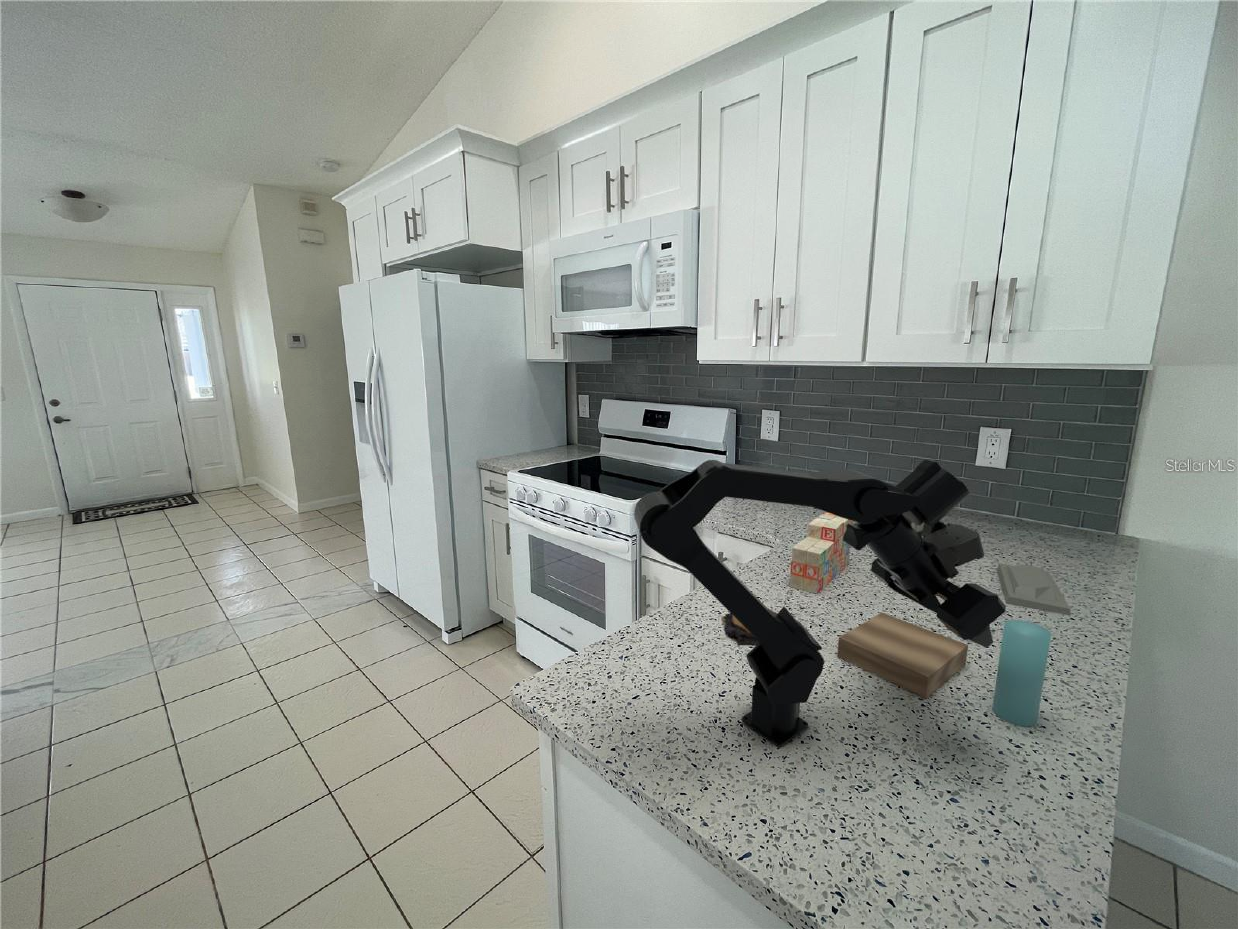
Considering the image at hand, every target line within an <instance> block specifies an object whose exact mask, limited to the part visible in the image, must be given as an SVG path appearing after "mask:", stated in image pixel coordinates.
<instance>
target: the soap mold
mask: <svg viewBox="0 0 1238 929" xmlns="http://www.w3.org/2000/svg"><path fill="white" fill-rule="evenodd" d="M996 573H997V576H998V580H999V583H1000V587H1001V591H1002V594H1003V597H1004V601H1005V605H1007V604H1008V605H1011V606H1017V607H1023V608H1029V609H1033V610H1039V611H1046V612H1050V613H1056V614H1061V615H1067V616H1071V615H1072V614H1071V608H1070V606H1069V604H1068V602H1067V600H1066V599H1065V597H1064V596H1063V593H1062V592H1061V590H1060V589H1059V586H1058V585H1057V583H1056V582H1055V579H1054V577H1053V576H1052V574H1051V572H1050V571H1049V570H1044V568H1042V567H1038V566H1033V565H1030V564H1018V565H1011V564H1003V563H999V564H998V565H997V567H996Z"/></svg>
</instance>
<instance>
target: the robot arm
mask: <svg viewBox="0 0 1238 929" xmlns="http://www.w3.org/2000/svg"><path fill="white" fill-rule="evenodd" d="M968 497H970V490H969V488H967V486H966V485H965V483H964V482H962V481H961V480H958V478H957V477H955V476H954V475H953V474H951V473H950V472H949V471H948V470H946V469H945V468H942V467H941V465H940V464H939V463H938V462H937V461H934V460H931V459H927V458H925V459H923V460H922V462H920V463H919V464H918V465H917V466H916V468H915V469H914V470H913V471H912V472H911V473H910V474H908V475H907V476H906V477H905V478H903V479H902V480H901V481H900V482H898V483H897V484H896V485H893V484H890V483H887V482H884V481H883V480H881V479H878V478H876V477H873V476H871V475H868V474H866V473H863V472H861V471H858V470H855V469H853V468H840V469H839V468H835V469H823V470H820V471H817V472H816V471H815V472H800V471H790V470H784V469H783V470H782V469H777V468H776V469H774V468H767V467H759V466H753V465H752V466H751V465H742V464H736V463H734V464H733V463H728V462H727V463H726V462H722V461H719V460H717V459H708V460H706V461H703V462H702V463H701V464H700V465H698V466H697V467H696V468H694V469H693V470H691V471H689V472H688V473H686V474H684V475H682V476H680V477H678V478H677V479H674V480H673V481H671V482H669V483H667V484H666V485H665V486H664V487H662V488H661V489H660V490H658V491H651V492H649V493H646V494H644V495H643V496H642V497H640V498H639V500H638V501H637V503H636V504H635V507H634V511H633V512H634V515H633V516H634V521H635V523H636V526H637V529H638V531H639V533H640V536H641V538H642V541H643V542H644V543H645V545H646V546H647V547H649V548H651V549H652V550H653V551H654V552H656V553H657V554H659V555H661V556H662V557H663V558H665V559H666V560H668V561H670V562H672V563H674V564H676V565H679V566H680V567H682V568H684V569H685V570H687V571H688V572H689V573H690V574H691V575H692V576H693V577H694V578H695V579H696V580H697V581H698V582H699V583H700V584H701V585H702V586H703V587H704V588H705V589H706V590H707V591H708V592H709V593H710V594H711V595H712V596H713V597H714V598H715V599H716V600H717V601H718V602H719V603H720V604H721V605H722V606H723V607H724V608H725V610H727V611H728V613H729V614H730V613H731V614H732V615H733V616H734V617H735V618H736V619H737V620H738V621H739V622H740V623H741V624H742V625H743V626H744V627H745V628H746V629H747V630H748V631H749V632H750V633H751V634H752V635H753V636H754V637H755V638H756V639H757V640H758V642H759V643H758V644H757V645H756V646H755V645H754V647H753V648H752V649H751V650H750V651H748V653H747V654H746V657H745V658H746V660H747V662H748V663H747V664H748V665H749V667H750V669H751V670H752V671H753V673H754V675H755V679H754V685H752V690H751V710H750V711H749V712H748V713H746V714H745V715H743V716H742V717H741V722H742V723H743V724H745V725H746V726H748V727H749V728H750V729H752V730H754V731H755V732H756V733H758V734H759V735H761V737H763V738H765V739H766V740H768V741H770V742H771V743H772V744H773V745H775V746H777V747H779V748H780V747H781V748H782V747H783V746H785V745H786V744H788V743H789V742H791V741H792V740H793V739H795V738H796V737H797V736H798V735H800V734H802V733H803V732H805V731H806V730H807V729H808V728H809V722H807V721H806V720H805V719H803V718H801V717H800V716H799V715H800V708H801V704H806V703H807V702H808V700H809V697H810V696H811V694H812V692H813V689H814V687H815V684H816V683H817V680H818V678H819V677H820V676H821V674H822V672H823V670H824V665H825V660H824V656H823V655H822V654H821V652H820V651H822V649H823V646H821V645H820V643H819V642H818V641H817V640H816V639H815V637H813V635H812V634H811V633H810V632H809V631H808V629H807V628H806V627H805V626H804V625H803V624H802V623H801V621H798V620H797V619H796V618H795V617H794V616H793V615H792V614H791V612H789V610H788V609H787V608H786V606H782V608H781V609H780V610H779V611H778V612H775V611H773V610H771V609H770V608H768V607H767V606H766V605H765V604H764V603H763V602H762V601H761V600H760V599H759V598H758V597H757V595H755V594H754V593H753V592H752V590H750V588H749V587H747V586H746V585H745V583H743V581H741V579H740V578H739V577H737V575H736V574H735V573H734V572H733V571H732V570H731V569H730V568H729V567H728V566H727V565H726V564H725V563H724V562H723V561H722V560H721V559H720V558H719V557H718V556H717V555H716V554H715V553H714V552H713V550H711V549H710V547H709V546H708V545H706V544H705V543H704V541H703V540H702V539H701V537H700V535H699V534H698V533H697V531H696V529H695V527H696V526H698V525H699V524H700V523H701V522H702V521H703V520H704V519H705V518H706V517H707V515H708V514H709V513H710V512H711V511H712V510H713V508H714V507H716V505H718V503H719V502H721V501H722V500H723V499H725V498H731V499H732V498H734V499H743V500H749V501H750V500H751V501H759V502H766V503H767V502H768V503H777V504H783V505H784V504H785V505H791V506H792V505H793V506H800V507H801V506H802V507H807V508H808V507H811V508H814V509H817V510H820V511H823V512H825V513H826V512H827V513H831V514H833V515H836V516H839V517H842V518H845V519H848V520H852V522H855V523H852V524H847V525H846V532H845V533H844V537H843V541H844V542H845V543H847V544H848V545H850V548H853V549H855V551H861V550H862V549H863V548H865V547H866V546H868V547H869V549H870V551H872V552H873V554H874V555H875V556H876V557H877V558H875V559H874V560H873V561H872V562H871V567H870V571H871V573H872V574H873V575H874V576H875V577H876V578H877V580H879V581H881V582H882V583H883V584H885V586H887V587H888V588H889V589H890V590H893V592H896V593H898V594H900V595H901V596H903V597H905V598H907V599H909V600H910V601H912V602H914V603H917V604H918V605H920V606H922V607H924V608H926V609H927V610H930V612H933V613H936V615H935V616H936V617H937V619H938V620H939V621H940V623H941V624H943V626H944V627H945V628H946V629H947V630H949V631H950V632H951V633H953V634H954V635H955V636H957V637H959V638H961V639H962V640H963V641H971V642H973V643H975V644H977V645H979V646H982V647H984V648H989V647H991V645H993V643H994V640H993V636H992V630H991V627H990V626H991V625H990V624H992V623H993V622H994V621H996V620H997V619H998V618H999V617H1001V616H1002V615H1003V614H1004V613H1005V612H1007V611H1006V604H1005V603H1004V601H1002V599H1001V598H1000V597H999V596H998V595H997V594H996V593H994V592H992V591H991V590H988V589H987V588H985V587H983V586H981V585H980V584H977V583H973V582H972V583H971V582H970V583H968V582H966V583H964V584H963V585H962V586H961V587H960V586H958V585H956V584H955V583H954V582H952V581H951V580H952V579H954V578H955V577H956V576H957V575H958V574H960V572H959V570H958V569H957V568H956V567H960V566H963V565H965V564H968V563H970V562H973V561H975V560H981V559H982V558H984V557H985V553H984V548H983V544H982V540H981V536H980V533H979V532H978V531H975V530H973V529H971V528H969V527H966V526H964V525H961V524H953V523H951V522H947V523H945V522H944V521H942V519H943V518H945V517H946V516H947V515H948V514H949V513H951V512H952V511H953V510H954V509H955V508H957V506H959V505H961V503H962V502H963V501H965V500H966V499H967V498H968ZM903 515H904V516H905V517H906V518H908V519H909V520H910V521H911V522H913V523H914V524H916V525H921V524H922V523H924V524H923V530H922V538H921V537H920V536H919V535H918V534H917V532H916V531H915V530H914V528H913V527H912V526H911V525H910V523H909V522H908V521H907V520H906V518H905V517H904V516H903ZM948 579H951V580H950V581H949V580H948ZM938 598H940V599H942V600H943V602H942V603H941V602H940V600H939V599H938Z"/></svg>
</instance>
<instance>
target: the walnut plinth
mask: <svg viewBox="0 0 1238 929" xmlns="http://www.w3.org/2000/svg"><path fill="white" fill-rule="evenodd" d="M837 645H838V646H837V657H838V658H839V659H842V660H844V661H846V662H847V663H850V664H852V665H854V666H857V667H858V668H861V669H863V670H864V671H867V672H869V673H871V674H874V675H876V676H878V677H880V678H882V679H884V680H886V681H888V682H891V683H892V684H894V685H896V686H899V687H900V688H903V689H905V690H908V692H911V693H914V694H916V695H918V696H920V697H922V698H924V699H927V698H929V697H930V696H931V695H932V694H933V693H935V692H936V691H937V690H938V689H939V688H940V687H941V686H942V685H944V684H945V683H946V682H948V681H949V680H950V679H951V678H952V677H953V676H955V675H956V674H957V673H958V672H960V670H961V669H963V668H964V667H965V666H966V665H967V658H968V651H969V644H967V643H964V642H961V641H959V640H956V639H953V638H951V637H948V636H946V635H942V634H940V633H938V632H935V631H932V630H931V629H927V628H923V627H921V626H919V625H916V624H913V623H911V622H908V621H907V620H903V619H900V618H897V617H895V616H892V615H889V614H888V613H884V612H880V613H879V614H877V615H875V616H873V617H871V618H870V619H868V620H867V621H865V622H863V623H861V624H859V625H858V626H856V627H855V628H853V629H851V630H849V631H847V632H846V633H844V634H842V635H840V636H839V637H838V644H837Z"/></svg>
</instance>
